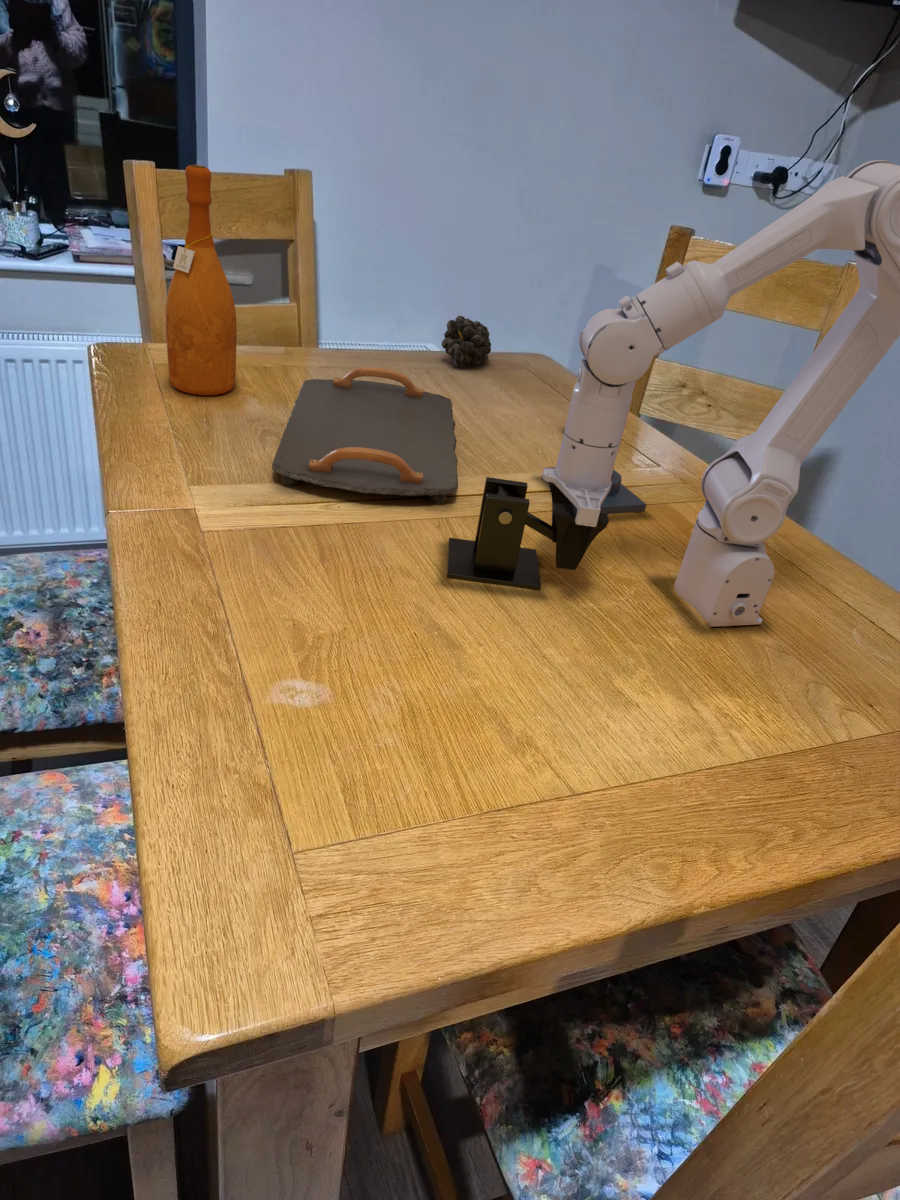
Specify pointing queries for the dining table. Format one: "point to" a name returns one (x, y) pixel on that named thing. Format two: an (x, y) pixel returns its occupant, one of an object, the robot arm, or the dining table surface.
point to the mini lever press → (497, 542)
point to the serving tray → (370, 437)
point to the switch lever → (533, 519)
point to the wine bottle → (200, 303)
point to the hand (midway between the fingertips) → (563, 554)
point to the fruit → (466, 341)
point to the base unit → (619, 498)
